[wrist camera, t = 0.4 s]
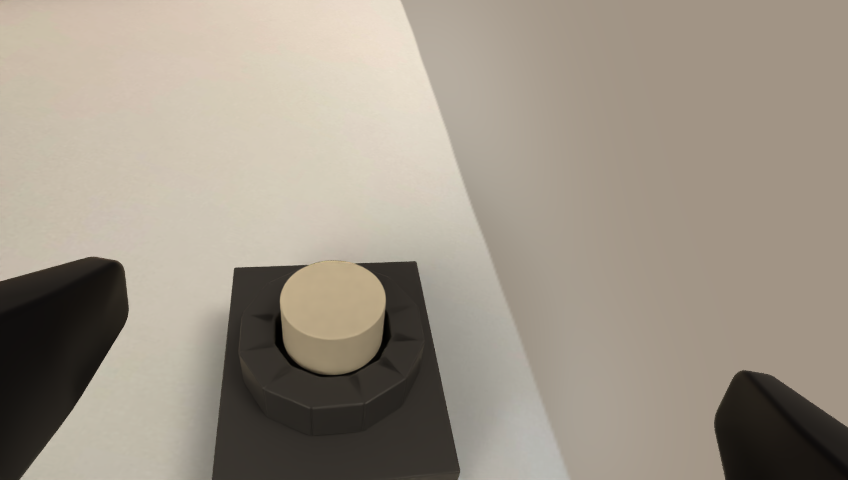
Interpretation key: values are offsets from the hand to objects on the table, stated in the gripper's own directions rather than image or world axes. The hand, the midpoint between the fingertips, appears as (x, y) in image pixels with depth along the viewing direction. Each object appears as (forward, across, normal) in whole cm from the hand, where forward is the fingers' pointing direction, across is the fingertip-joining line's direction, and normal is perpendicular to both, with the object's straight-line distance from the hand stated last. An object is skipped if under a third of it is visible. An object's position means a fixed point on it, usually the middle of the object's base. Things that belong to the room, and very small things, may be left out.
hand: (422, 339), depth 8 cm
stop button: (+10, +3, +8) cm, 13 cm away
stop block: (+12, +3, +14) cm, 19 cm away
